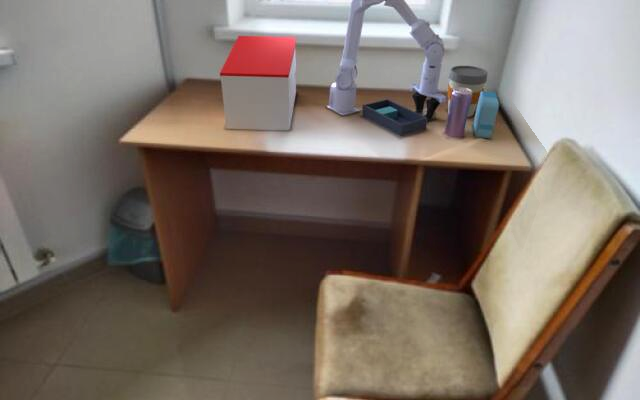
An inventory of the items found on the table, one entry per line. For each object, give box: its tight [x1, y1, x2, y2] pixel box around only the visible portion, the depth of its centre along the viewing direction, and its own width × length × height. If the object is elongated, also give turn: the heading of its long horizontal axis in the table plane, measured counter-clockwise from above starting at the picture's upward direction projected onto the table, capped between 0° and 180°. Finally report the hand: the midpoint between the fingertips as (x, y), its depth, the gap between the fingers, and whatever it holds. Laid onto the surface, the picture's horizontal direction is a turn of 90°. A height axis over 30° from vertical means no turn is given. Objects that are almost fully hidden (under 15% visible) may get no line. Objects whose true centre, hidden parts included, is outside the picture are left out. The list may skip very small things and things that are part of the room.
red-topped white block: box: [219, 35, 297, 131], centre depth 151 cm, size 21×35×21 cm, turn 179°
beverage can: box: [444, 87, 472, 139], centre depth 138 cm, size 6×6×15 cm
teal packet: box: [375, 106, 398, 119], centre depth 151 cm, size 4×7×3 cm, turn 124°
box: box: [361, 98, 428, 137], centre depth 148 cm, size 20×11×4 cm, turn 34°
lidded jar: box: [446, 65, 488, 118], centre depth 154 cm, size 13×13×15 cm
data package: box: [473, 90, 500, 139], centre depth 141 cm, size 12×4×12 cm, turn 167°
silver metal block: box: [413, 107, 437, 121], centre depth 152 cm, size 4×7×3 cm, turn 124°
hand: (424, 116), depth 152 cm, fingers closed on silver metal block, 4 cm apart
